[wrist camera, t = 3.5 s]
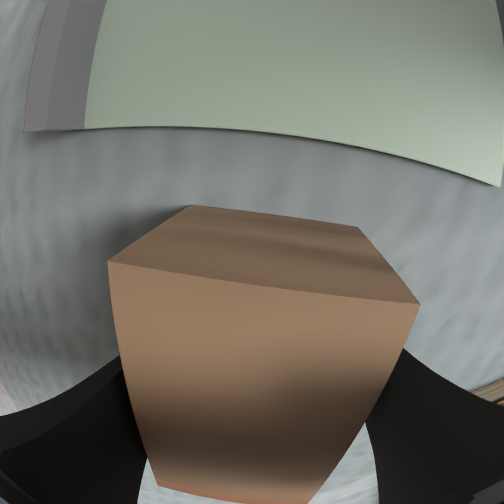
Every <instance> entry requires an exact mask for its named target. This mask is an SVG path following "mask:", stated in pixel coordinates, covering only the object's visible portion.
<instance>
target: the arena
mask: <svg viewBox="0 0 504 504" xmlns="http://www.w3.org/2000/svg"><path fill="white" fill-rule="evenodd" d="M117 127H200V128H219V129H234V130H246V131H256V132H266V133H275V134H283V135H291V136H298V137H305V138H312V139H318V140H324V141H330V142H335V143H341V144H346V145H351V146H356V147H361V148H366V149H371V150H375V151H379V152H384V153H388V154H392V155H396V156H400V157H404V158H408V159H412V160H415V161H419V162H423V163H426V164H430V165H433V166H436V167H440V168H443V169H446V170H449V171H453V172H456V173H459V174H462V175H465V176H468V177H471V178H473V179H476V180H479V181H482V182H485V183H487V184H490V185H492V186H496V187H499V188H500V185H501V178H502V171H503V163H504V44H503V37H502V30H501V24H500V19H499V13H498V9H497V4H496V0H49V3H48V6H47V9H46V12H45V15H44V18H43V21H42V25H41V28H40V32H39V36H38V40H37V44H36V48H35V53H34V57H33V62H32V67H31V73H30V78H29V85H28V92H27V99H26V108H25V118H24V131H23V133H33V132H54V131H74V130H85V129H99V128H117Z"/></svg>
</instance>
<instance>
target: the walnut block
mask: <svg viewBox="0 0 504 504" xmlns="http://www.w3.org/2000/svg"><path fill="white" fill-rule="evenodd" d="M107 266H108V277H109V286H110V295H111V303H112V310H113V317H114V323H115V330H116V336H117V341H118V347H119V352H120V357H121V362H122V367H123V372H124V376H125V380H126V385H127V389H128V393H129V397H130V401H131V405H132V408H133V412H134V416H135V419H136V423H137V426H138V429H139V433H140V436H141V439H142V442H143V445H144V448H145V451H146V454H147V457H148V460H149V463H150V466H151V468H152V471H153V474H154V476H155V479H156V482H157V484H158V485H159V486H162V487H166V488H169V489H173V490H177V491H181V492H185V493H189V494H193V495H198V496H202V497H207V498H212V499H218V500H224V501H230V502H237V503H244V504H308V503H309V501H310V500H311V499H312V498H313V496H314V495H315V494H316V493H317V491H318V490H319V489H320V488H321V486H322V485H323V484H324V482H325V481H326V480H327V478H328V477H329V476H330V474H331V473H332V471H333V470H334V469H335V467H336V466H337V464H338V463H339V462H340V460H341V459H342V457H343V456H344V454H345V453H346V451H347V450H348V448H349V447H350V445H351V444H352V442H353V441H354V439H355V437H356V436H357V434H358V433H359V431H360V429H361V428H362V426H363V424H364V423H365V421H366V419H367V418H368V416H369V414H370V412H371V411H372V409H373V407H374V405H375V403H376V402H377V400H378V398H379V396H380V394H381V392H382V390H383V389H384V387H385V385H386V383H387V381H388V379H389V377H390V375H391V373H392V371H393V369H394V366H395V364H396V362H397V360H398V358H399V356H400V353H401V351H402V349H403V347H404V344H405V342H406V340H407V337H408V335H409V333H410V330H411V328H412V325H413V323H414V320H415V318H416V315H417V312H418V310H419V307H420V303H419V302H418V300H417V299H416V298H415V296H414V295H413V294H412V292H411V291H410V290H409V289H408V287H407V286H406V285H405V283H404V282H403V281H402V280H401V278H400V277H399V276H398V275H397V273H396V272H395V271H394V270H393V268H392V267H391V266H390V265H389V263H388V262H387V261H386V260H385V259H384V257H383V256H382V255H381V254H380V253H379V251H378V250H377V249H376V248H375V247H374V245H373V244H372V243H371V242H370V241H369V240H368V238H367V237H366V236H365V235H364V234H363V233H362V232H361V230H360V229H359V228H358V227H354V226H347V225H341V224H335V223H328V222H321V221H315V220H308V219H301V218H294V217H287V216H279V215H272V214H264V213H256V212H248V211H240V210H232V209H224V208H215V207H206V206H197V205H190V206H188V207H186V208H185V209H183V210H182V211H180V212H179V213H177V214H175V215H174V216H172V217H171V218H169V219H168V220H166V221H165V222H163V223H162V224H160V225H159V226H157V227H156V228H154V229H153V230H151V231H150V232H148V233H147V234H145V235H144V236H142V237H141V238H139V239H138V240H136V241H135V242H133V243H132V244H130V245H129V246H128V247H126V248H125V249H123V250H122V251H120V252H119V253H118V254H116V255H115V256H113V257H112V258H111V259H109V260H108V261H107Z"/></svg>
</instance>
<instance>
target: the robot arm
mask: <svg viewBox="0 0 504 504" xmlns="http://www.w3.org/2000/svg"><path fill="white" fill-rule="evenodd" d="M365 423H366V427H367V430H368V434H369V437H370V441H371V445H372V449H373V453H374V458H375V465H376V473H377V482H378V492H379V504H504V406H501V405H498V404H496V403H493V402H491V401H488V400H486V399H483V398H481V397H479V396H477V395H475V394H472V393H470V392H468V391H466V390H464V389H462V388H460V387H458V386H457V385H455V384H453V383H451V382H450V381H448V380H446V379H445V378H443V377H441V376H440V375H438V374H437V373H435V372H434V371H432V370H431V369H429V368H428V367H427V366H425V365H424V364H423V363H421V362H420V361H419V360H417V359H416V358H415V357H413V356H412V355H411V354H410V353H409V352H407V351H406V350H405V349H404V348H403V349H402V351H401V353H400V356H399V358H398V360H397V362H396V364H395V366H394V369H393V371H392V373H391V375H390V377H389V379H388V381H387V383H386V385H385V387H384V389H383V390H382V392H381V394H380V396H379V398H378V400H377V402H376V403H375V405H374V407H373V409H372V411H371V412H370V414H369V416H368V418H367V419H366V421H365ZM146 460H147V454H146V451H145V448H144V445H143V442H142V439H141V436H140V433H139V429H138V426H137V423H136V419H135V416H134V412H133V408H132V405H131V401H130V397H129V393H128V389H127V385H126V380H125V376H124V372H123V367H122V362H121V357H120V355H119V356H118V357H116V358H115V359H114V360H112V361H111V362H109V363H108V364H107V365H105V366H104V367H102V368H101V369H100V370H98V371H97V372H95V373H94V374H92V375H91V376H89V377H88V378H86V379H85V380H83V381H82V382H80V383H79V384H77V385H76V386H74V387H72V388H71V389H69V390H67V391H65V392H63V393H61V394H60V395H58V396H56V397H54V398H52V399H50V400H47V401H45V402H43V403H40V404H38V405H35V406H33V407H31V408H28V409H25V410H22V411H19V412H15V413H12V414H8V415H4V416H0V504H137V501H138V495H139V490H140V485H141V480H142V476H143V472H144V468H145V464H146Z"/></svg>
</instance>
